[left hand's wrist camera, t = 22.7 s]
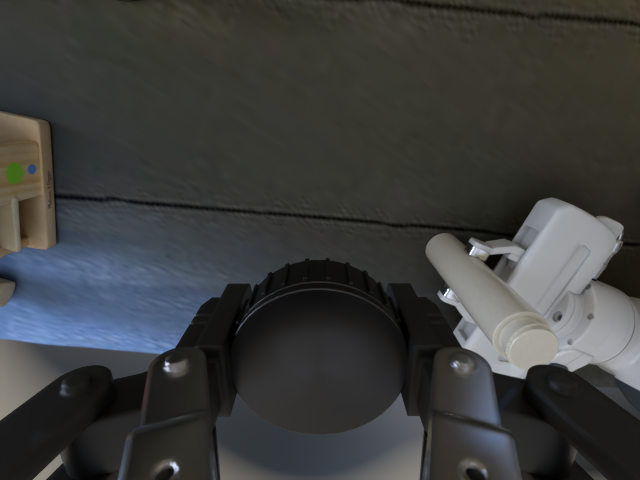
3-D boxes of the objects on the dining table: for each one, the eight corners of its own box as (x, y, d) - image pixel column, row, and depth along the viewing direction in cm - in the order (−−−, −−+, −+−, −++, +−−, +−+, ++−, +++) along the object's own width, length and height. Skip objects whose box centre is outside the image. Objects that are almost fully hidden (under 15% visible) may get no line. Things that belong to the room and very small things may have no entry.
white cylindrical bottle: (449, 226, 40) (550, 313, 22) (466, 252, 41) (574, 355, 24) (419, 245, 41) (493, 344, 23) (436, 271, 42) (518, 383, 24)
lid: (350, 409, 12) (356, 458, 10) (217, 357, 11) (198, 400, 10) (428, 298, 11) (448, 334, 9) (279, 229, 10) (270, 253, 8)
